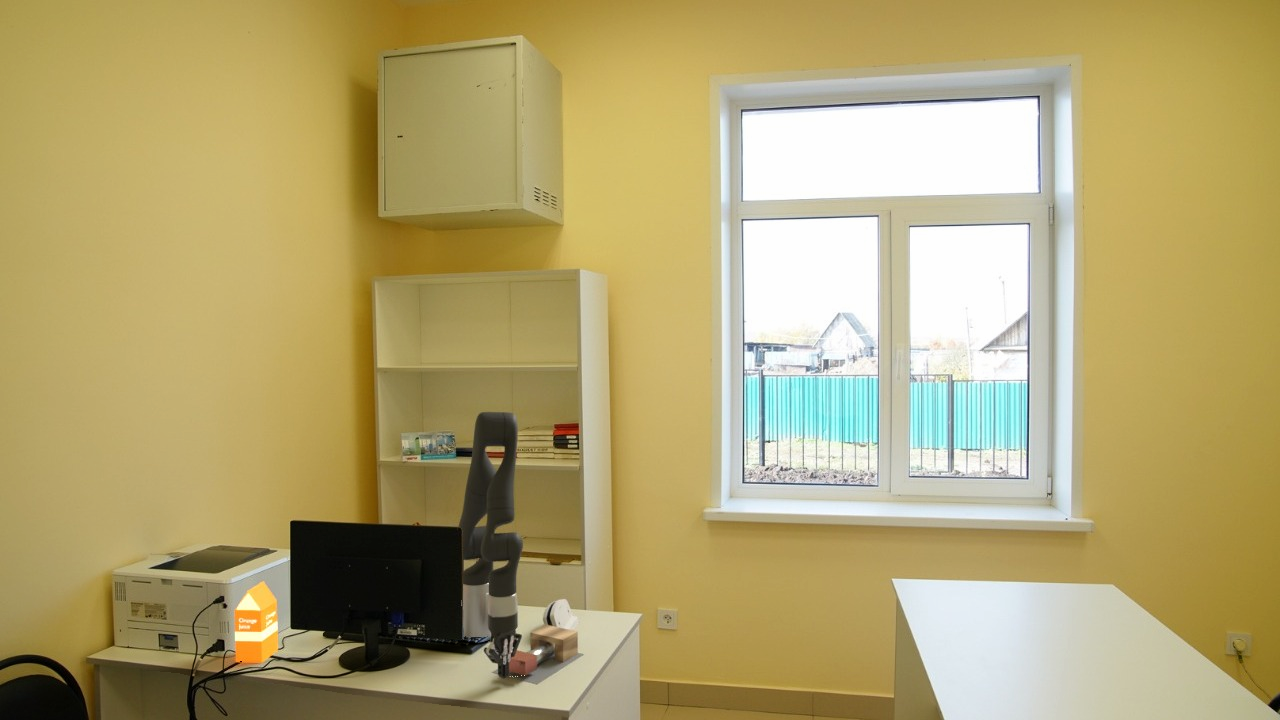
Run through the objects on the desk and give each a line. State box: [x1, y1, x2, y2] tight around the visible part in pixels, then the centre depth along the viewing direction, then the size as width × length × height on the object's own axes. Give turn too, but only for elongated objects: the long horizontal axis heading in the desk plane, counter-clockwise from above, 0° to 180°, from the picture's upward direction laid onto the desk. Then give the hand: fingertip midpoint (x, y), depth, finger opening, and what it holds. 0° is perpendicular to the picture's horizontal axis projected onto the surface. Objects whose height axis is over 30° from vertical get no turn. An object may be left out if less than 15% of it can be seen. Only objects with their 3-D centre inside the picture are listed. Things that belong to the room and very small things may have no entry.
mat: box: [491, 649, 585, 685], centre depth 223 cm, size 15×22×1 cm
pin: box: [509, 642, 554, 675], centre depth 220 cm, size 15×7×5 cm, turn 150°
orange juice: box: [234, 581, 279, 664], centre depth 229 cm, size 8×9×20 cm
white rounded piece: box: [542, 598, 580, 631], centre depth 246 cm, size 17×5×10 cm, turn 170°
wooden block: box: [529, 624, 579, 663], centre depth 229 cm, size 11×7×6 cm, turn 60°
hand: (503, 676), depth 209 cm, fingers closed
